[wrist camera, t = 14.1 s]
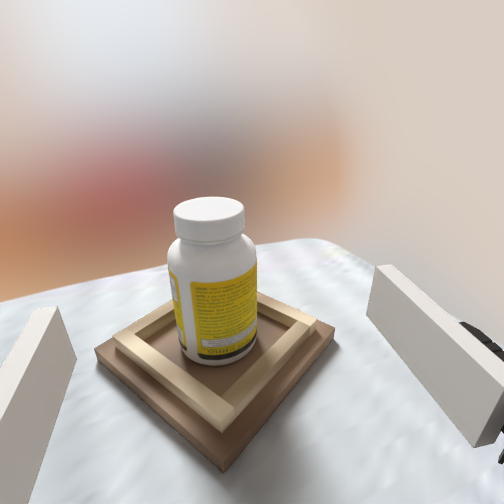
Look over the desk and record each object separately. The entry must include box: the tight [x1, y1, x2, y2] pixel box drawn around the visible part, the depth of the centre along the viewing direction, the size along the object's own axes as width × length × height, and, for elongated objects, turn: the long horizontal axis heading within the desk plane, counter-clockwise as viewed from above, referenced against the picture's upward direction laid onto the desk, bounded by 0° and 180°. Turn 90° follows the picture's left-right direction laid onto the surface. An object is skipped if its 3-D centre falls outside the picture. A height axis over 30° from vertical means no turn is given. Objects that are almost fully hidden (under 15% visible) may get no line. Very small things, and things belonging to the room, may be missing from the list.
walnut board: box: [94, 292, 335, 473], centre depth 23 cm, size 12×12×2 cm
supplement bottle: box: [167, 197, 257, 366], centre depth 21 cm, size 5×5×10 cm
